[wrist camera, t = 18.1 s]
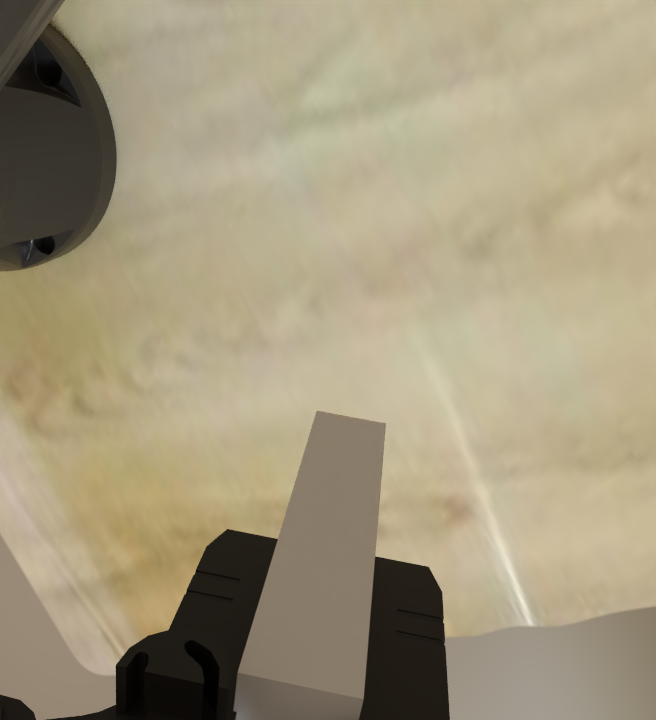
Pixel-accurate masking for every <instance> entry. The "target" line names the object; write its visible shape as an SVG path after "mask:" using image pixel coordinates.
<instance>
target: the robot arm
mask: <svg viewBox="0 0 656 720" xmlns="http://www.w3.org/2000/svg"><path fill="white" fill-rule="evenodd" d="M64 1H65V0H0V271H14V270H21V269H27V268H31V267H35V266H38V265H41V264H43V263H46V262H48V261H51V260H53V259H55V258H58V257H60V256H62V255H64V254H66V253H68V252H70V251H72V250H73V249H75V248H76V247H77V246H79V245H80V244H81V243H82V242H84V241H85V240H86V239H87V238H88V237H89V236H90V235H91V233H92V232H93V231H94V230H95V228H96V227H97V226H98V224H99V223H100V221H101V219H102V217H103V216H104V214H105V212H106V209H107V207H108V205H109V202H110V199H111V196H112V192H113V188H114V183H115V176H116V143H115V136H114V130H113V125H112V121H111V117H110V114H109V111H108V108H107V105H106V102H105V100H104V97H103V95H102V93H101V90H100V88H99V86H98V84H97V82H96V80H95V78H94V77H93V75H92V73H91V72H90V70H89V68H88V67H87V65H86V64H85V63H84V61H83V60H82V58H81V57H80V56H79V54H78V53H77V52H76V51H75V49H74V48H73V47H72V46H71V45H70V44H69V43H68V42H67V41H66V40H65V39H64V38H63V37H62V36H61V35H60V34H59V33H58V32H57V31H56V30H55V29H54V28H52V27H51V26H50V25H49V24H48V23H49V22H50V21H51V19H52V18H53V16H54V15H55V13H56V12H57V11H58V9H59V8H60V6H61V5H62V4H63V2H64ZM385 427H386V423H380V422H375V421H369V420H364V419H358V418H353V417H348V416H342V415H337V414H331V413H326V412H321V411H317V412H316V415H315V419H314V422H313V425H312V429H311V432H310V435H309V438H308V442H307V445H306V448H305V452H304V455H303V458H302V462H301V465H300V468H299V471H298V475H297V478H296V481H295V485H294V488H293V491H292V495H291V498H290V501H289V504H288V508H287V511H286V514H285V518H284V521H283V524H282V528H281V531H280V534H279V538H278V539H274V538H269V537H264V536H259V535H254V534H249V533H244V532H239V531H234V530H229V529H227V530H226V531H224V532H223V533H222V534H221V535H220V536H219V537H217V538H216V539H215V540H214V541H213V542H212V543H210V544H209V545H208V546H207V547H206V549H205V551H204V554H203V556H202V558H201V560H200V562H199V564H198V567H197V569H196V573H195V575H193V578H192V580H191V582H190V584H189V586H188V589H187V592H186V595H184V597H183V600H182V602H181V604H180V606H179V608H178V611H177V613H176V615H175V617H174V619H173V621H172V624H171V626H170V628H169V630H168V631H164V632H160V633H157V634H153V635H149V636H147V637H146V638H144V639H143V640H141V641H139V642H138V643H136V644H135V645H133V646H132V647H130V648H129V649H128V651H127V652H126V653H125V654H124V656H123V657H122V658H121V659H120V661H119V662H118V663H117V665H116V705H114V706H112V707H110V708H107V709H105V710H103V711H100V712H97V713H92V714H88V715H83V716H75V717H66V718H57V719H48V720H450V716H449V700H448V684H447V666H446V650H445V646H444V643H445V633H444V623H443V619H444V617H443V600H442V591H441V589H440V587H439V585H438V584H437V582H436V580H435V578H434V576H433V574H432V572H431V571H430V569H429V567H426V566H421V565H416V564H411V563H406V562H401V561H396V560H391V559H385V558H380V557H375V551H376V539H377V526H378V514H379V502H380V489H381V477H382V464H383V452H384V440H385ZM0 720H36V718H35V715H34V712H33V711H32V710H30V709H29V708H28V707H27V706H26V705H25V704H24V703H23V702H22V701H21V700H18V699H14V698H10V697H7V696H3V695H0Z"/></svg>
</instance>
